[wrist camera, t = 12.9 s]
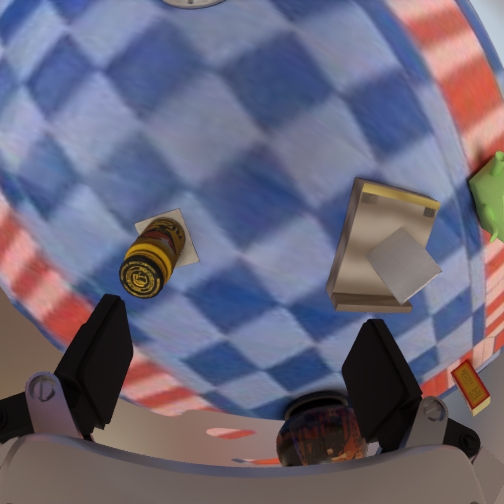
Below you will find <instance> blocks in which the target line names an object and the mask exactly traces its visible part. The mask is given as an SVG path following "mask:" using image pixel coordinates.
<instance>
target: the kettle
mask: <svg viewBox="0 0 504 504" xmlns="http://www.w3.org/2000/svg"><path fill="white" fill-rule="evenodd" d="M469 184H470V185H469V188H470V191H472V193H473V197H474V200H475V204H476V207H477V209H476V212H477V214H478V215H479V219H480V223H481V227H482V228H483V229H484V230H486V231H487V232H489V233H490V234H491V238H490V243H492V242H493V241H494V240H495V239H496V238H498V239H499V240H501V241H502V242H503V243H504V153H503V152H501V151H497V152H496V154H495V156H494V157H493V158H492V159H491V160H490V161H489V162H488V163H487V164H486V165H485V166H484V167H483V168H482V169H481V170H480V171H479V172H478V173H477V174H476V175H475V176H474V177H473V178H472V179H471V180H470V181H469Z"/></svg>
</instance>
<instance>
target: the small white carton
mask: <svg viewBox="0 0 504 504" xmlns="http://www.w3.org/2000/svg"><path fill="white" fill-rule="evenodd" d="M365 256H366V258H367V259H368V261H369V263H370V264H371V266H372V267H373V269H374V270H375V272H376V273H377V275H378V276H379V277H380V279H381V280H382V281H383V283H384V284H385V285H386V287H387V288H388V289H389V291H390V292H391V293H392V295H393V296H394V297H395V298H396V299H397V301H398V302H399V303H400V305H401V304H403V303H404V302H405V301H407V300H408V299H409V298H411V297H412V296H413V295H414V294H416V293H417V292H418V291H419V290H421V289H422V288H423V287H424V286H425V285H427V284H428V283H429V282H430V281H431V280H433V279H434V278H435V277H436V276H437V275H439V274H440V273H441V272H442V271H441V268H440V267H439V266H438V265H437V263H436V262H435V261H434V260H433V259H432V257H431V256H430V255H429V254H428V253H427V251H426V250H425V249H424V248H423V247H422V245H421V244H420V243H418V242H417V241H416V240H415V239H414V238H412V237H411V236H410V235H409V234H408V233H406V232H405V231H404V230H403V229H401V228H399V229H398V230H396V231H395V232H394V233H393V234H391V235H390V236H389V237H388V238H386V239H385V240H384V241H383V242H381V243H380V244H379V245H378V246H376V247H375V248H374V249H372V250H371V251H370V252H369V253H367V254H366V255H365Z"/></svg>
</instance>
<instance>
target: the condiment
mask: <svg viewBox="0 0 504 504" xmlns="http://www.w3.org/2000/svg"><path fill="white" fill-rule="evenodd" d="M135 227H136V229H137V231H138V233H139V235H140V236H139V237H138V238H137V240H136V241H135V242H134V243H133V244H132V245H131V247H130V248H129V250H128V251H127V253H126V255H125V260H124V262H123V263H122V265H121V267H120V270H119V276H120V282H121V284H122V286H123V287H124V289H125V290H126V291H127V292H128V293H129V294H131V295H133V296H135V297H138V298H142V299H148V298H152V297H155V296H156V295H158V294H159V292H160V291H161V290H162V288H163V286H164V284H165V283H167V281H168V280H169V279H170V276H171V275H172V273H173V270H174V268H176V267H180V266H183V265H188V264H191V263H195V262H199V259H198V256H197V254H196V251H195V249H194V246H193V244H192V241H191V238H190V236H189V233H188V230H187V228H186V225H185V223H184V220H183V218H182V215H181V212H180V210H179V209H176V210H173V211H170V212H167V213H164V214H161V215H158V216H155V217H152V218H149V219H146V220H144V221H141V222H138V223H135ZM182 250H183V251H182ZM181 252H182V254H181Z"/></svg>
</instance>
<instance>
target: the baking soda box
mask: <svg viewBox="0 0 504 504" xmlns="http://www.w3.org/2000/svg"><path fill="white" fill-rule="evenodd" d="M451 374H452V377H453V380H454V382H455V384H456V386H457V387H458V389H459V391H460V393H461V394H462V396H463V398H464V400H465V402H466V404H467V405H468V407H469V409H470V411H471V413H472V415H473V416H475V415H476V414H477V413H479V412H480V411H481V410H482V409H484V408H485V407H486V406H487V405H489V404H490V394H489V392H488V391H487V389H486V387H485V386H484V384H483V383H482V381H481V379H480V378H479V376H478V375H477V373H476V371H475V370H474V368H473V367H472V365H471V364H470V362H469V361H468V359H467V360H465V361H464V362H463V363H462V364H461V365H459V366H458V367H457V368H456V369H454V370H453V371H452V372H451Z"/></svg>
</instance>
